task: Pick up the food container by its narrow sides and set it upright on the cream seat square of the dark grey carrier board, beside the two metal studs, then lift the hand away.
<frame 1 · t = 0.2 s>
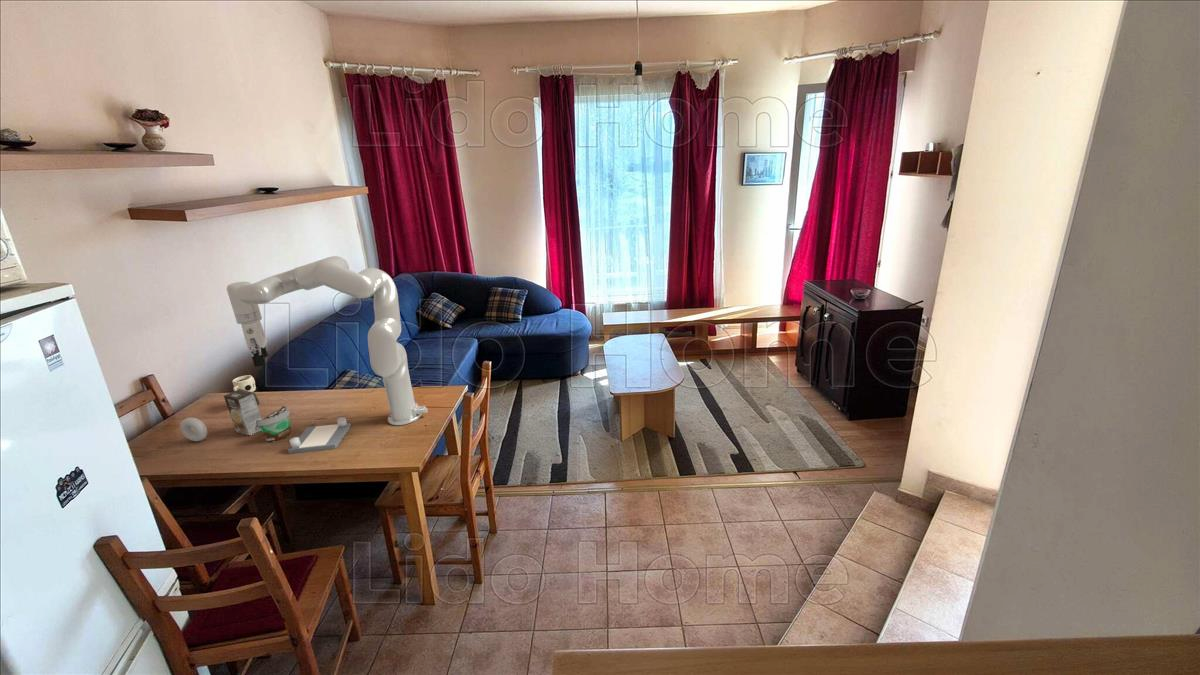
hand: (261, 361, 181), 30 cm above the table, tool pointing down, fingers open, 9 cm apart
carrier board: (321, 439, 184), on the table
character mug: (251, 405, 216), on the table
coffee box: (251, 430, 195), on the table
donut: (198, 441, 189), on the table
food container: (284, 436, 189), on the table
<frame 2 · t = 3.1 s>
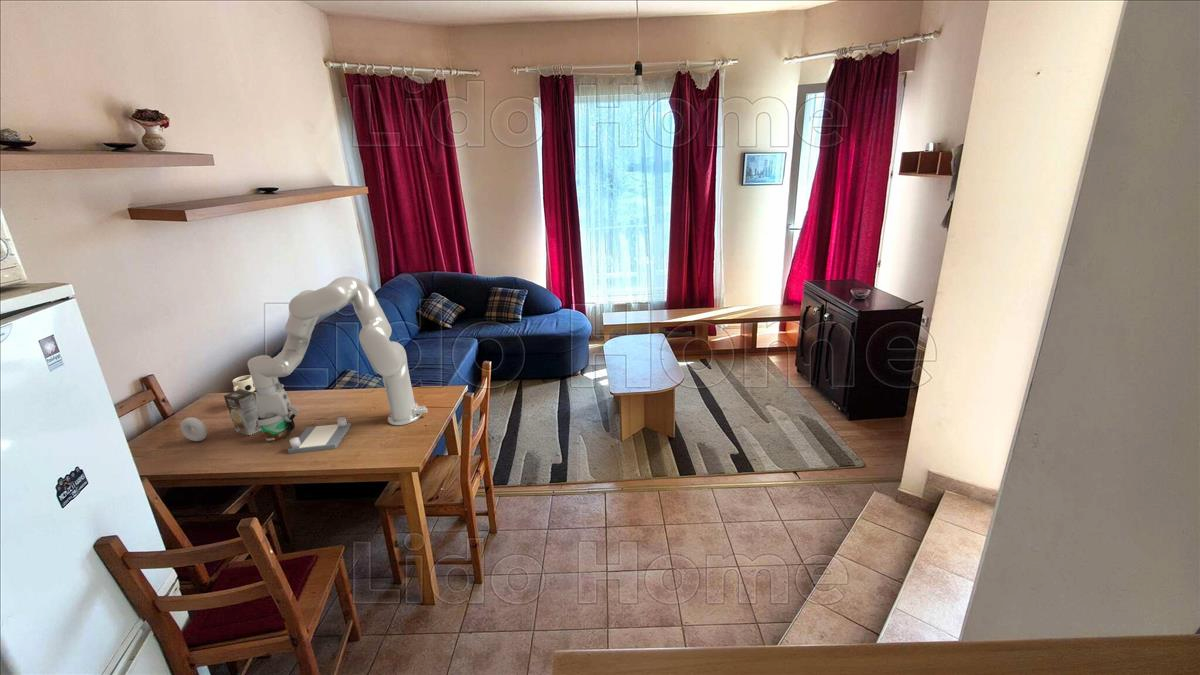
hand: (281, 430, 188), 2 cm above the table, tool pointing down, fingers open, 6 cm apart
food container: (284, 436, 189), on the table, touching gripper
everything else where it was.
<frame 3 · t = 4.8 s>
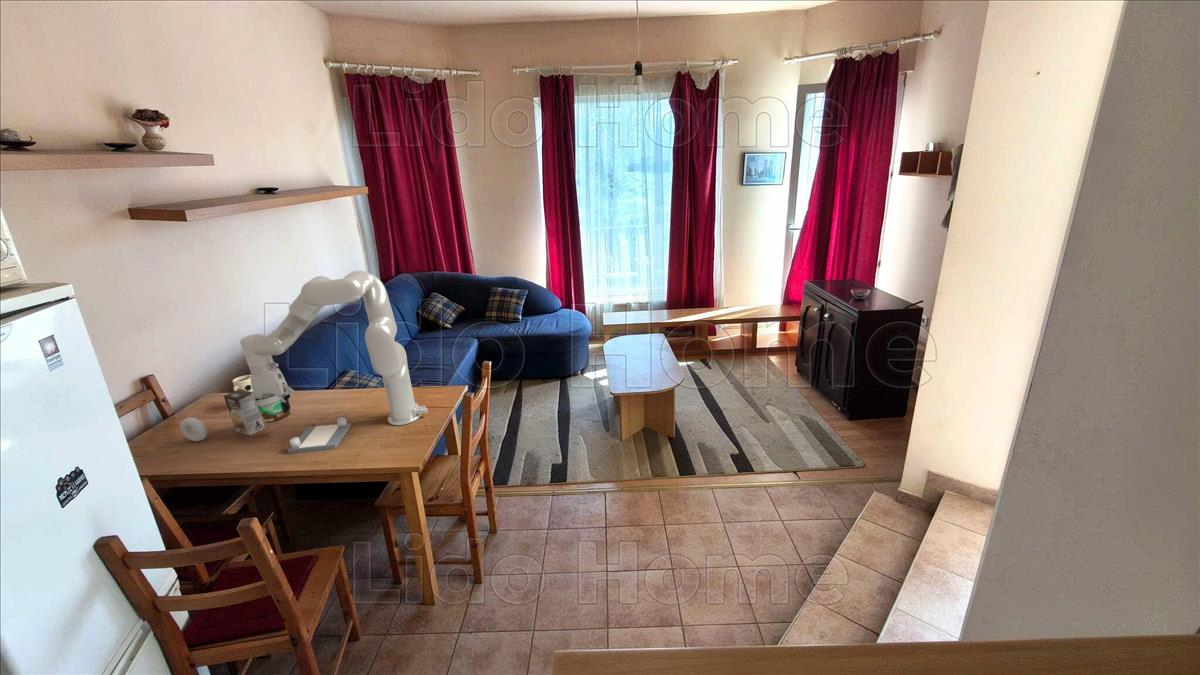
hand: (278, 411, 185), 10 cm above the table, tool pointing down, fingers closed on food container, 5 cm apart
food container: (282, 417, 186), point 8 cm above the table, touching gripper
everything else where it was.
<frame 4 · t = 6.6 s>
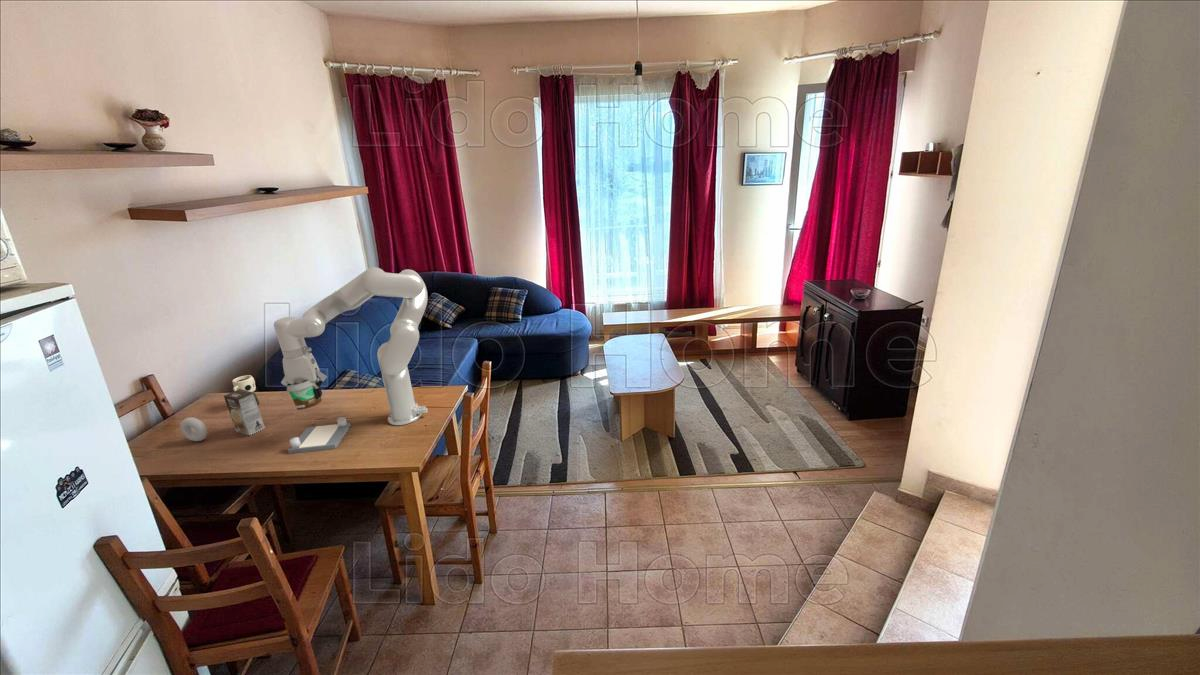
hand: (309, 398, 179), 17 cm above the table, tool pointing down, fingers closed on food container, 5 cm apart
food container: (314, 404, 180), point 15 cm above the table, touching gripper
everything else where it was.
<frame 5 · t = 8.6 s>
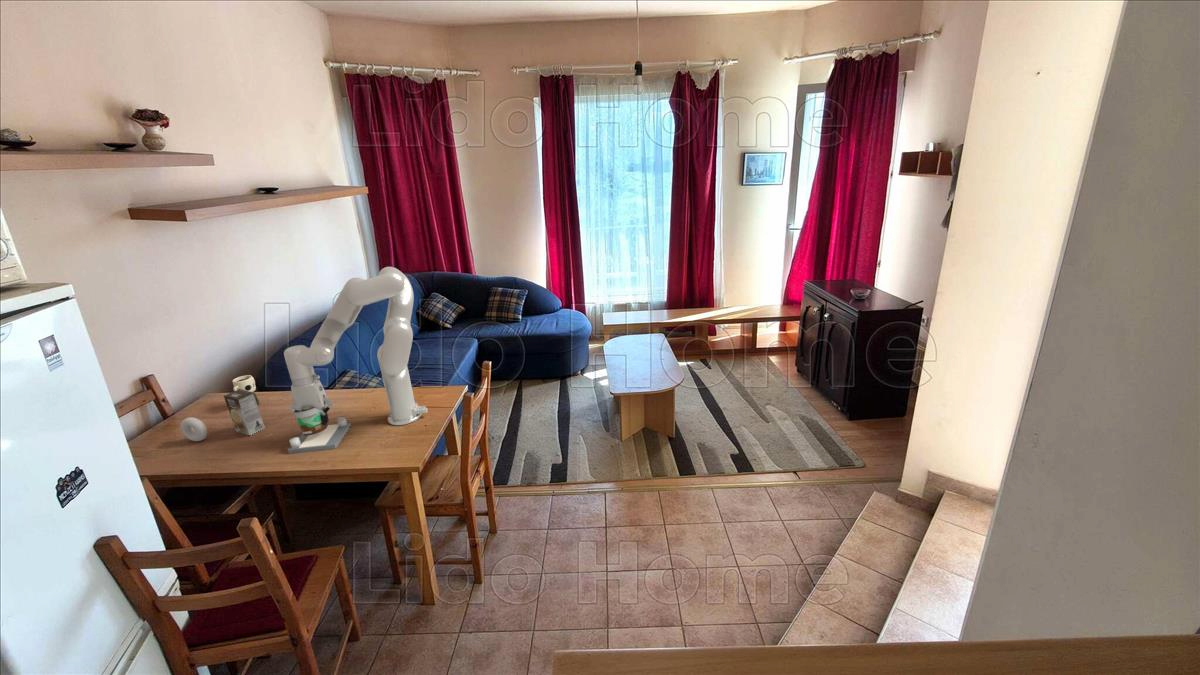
hand: (316, 423, 182), 7 cm above the table, tool pointing down, fingers closed on food container, 5 cm apart
food container: (320, 429, 183), point 4 cm above the table, touching gripper
everything else where it was.
when the fingers open (5 cm above the table, at t = 9.9 s): food container stays where it is, resting on carrier board.
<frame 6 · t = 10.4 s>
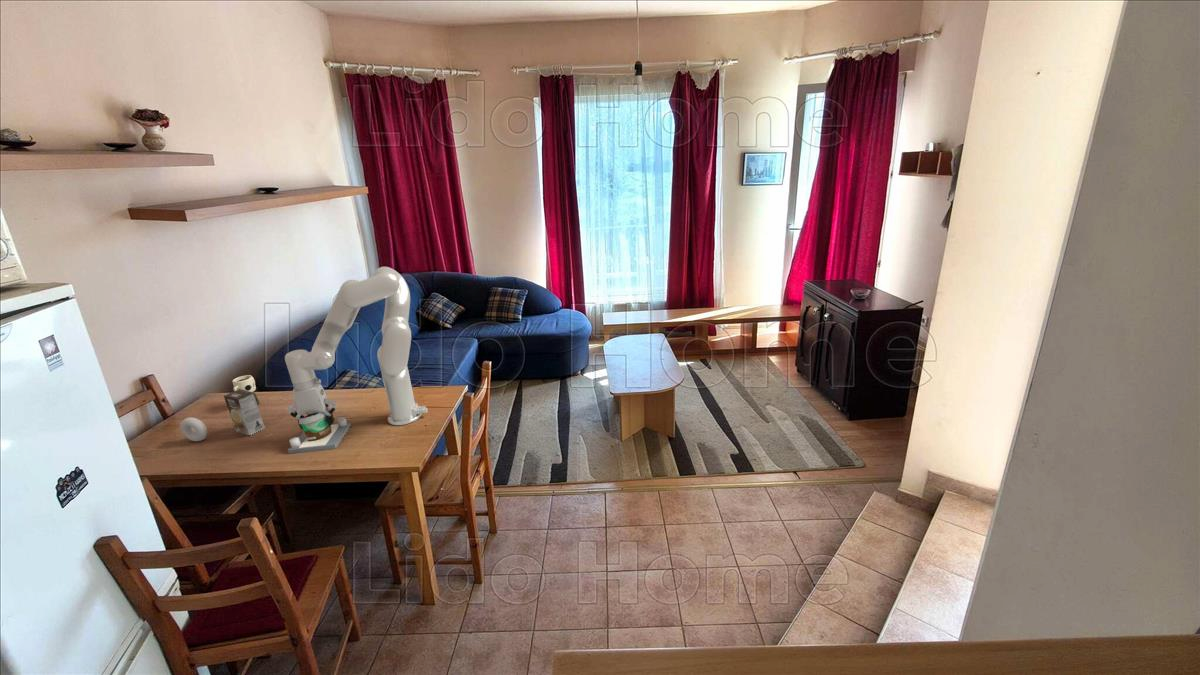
hand: (317, 425, 182), 6 cm above the table, tool pointing down, fingers open, 9 cm apart
food container: (324, 435, 184), point 2 cm above the table, touching carrier board, gripper
everything else where it was.
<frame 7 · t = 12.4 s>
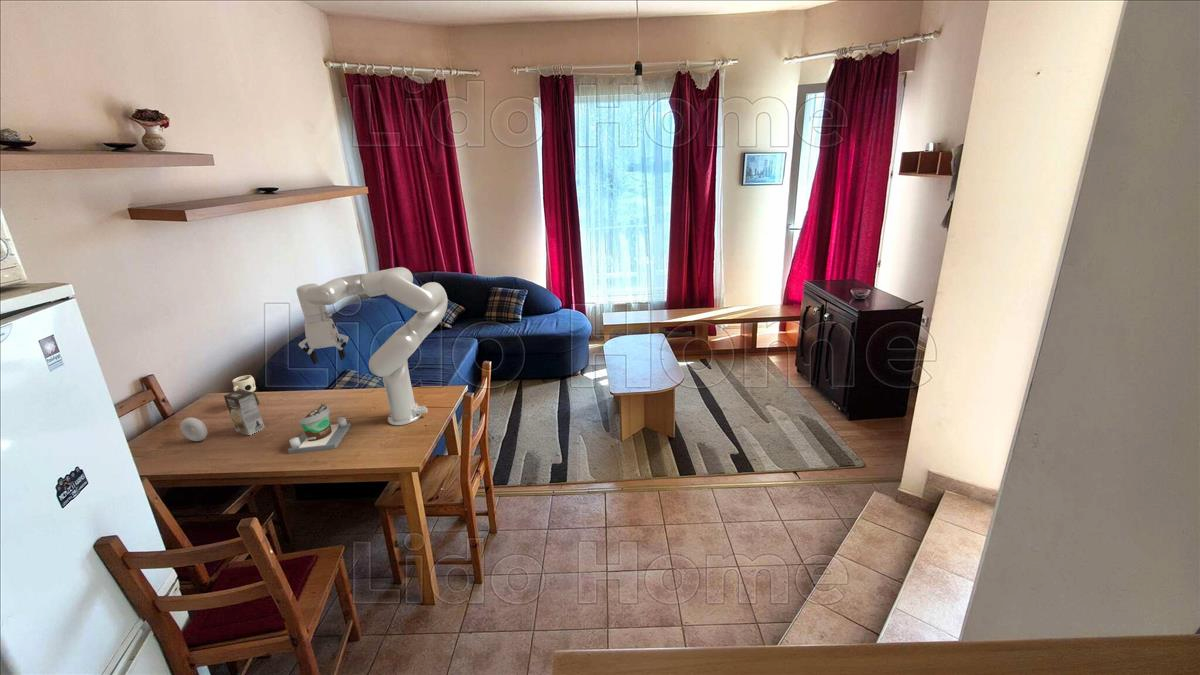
hand: (329, 360, 187), 26 cm above the table, tool pointing down, fingers open, 9 cm apart
food container: (324, 435, 184), point 2 cm above the table, touching carrier board
everything else where it was.
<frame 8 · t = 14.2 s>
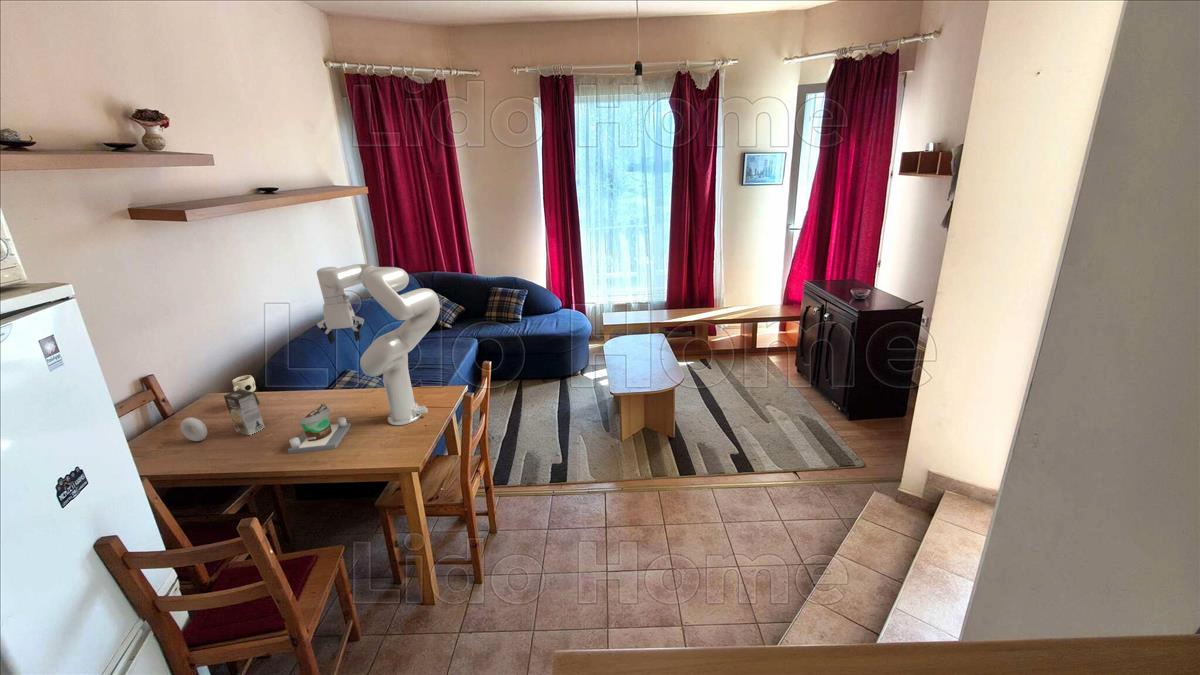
hand: (345, 341, 195), 30 cm above the table, tool pointing down, fingers open, 9 cm apart
nothing on the table moved.
at the end: food container 1.5 cm off-centre on the carrier board, point 1.5 cm above the carrier board's base; food container tilted 0°; the gripper is holding nothing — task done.
